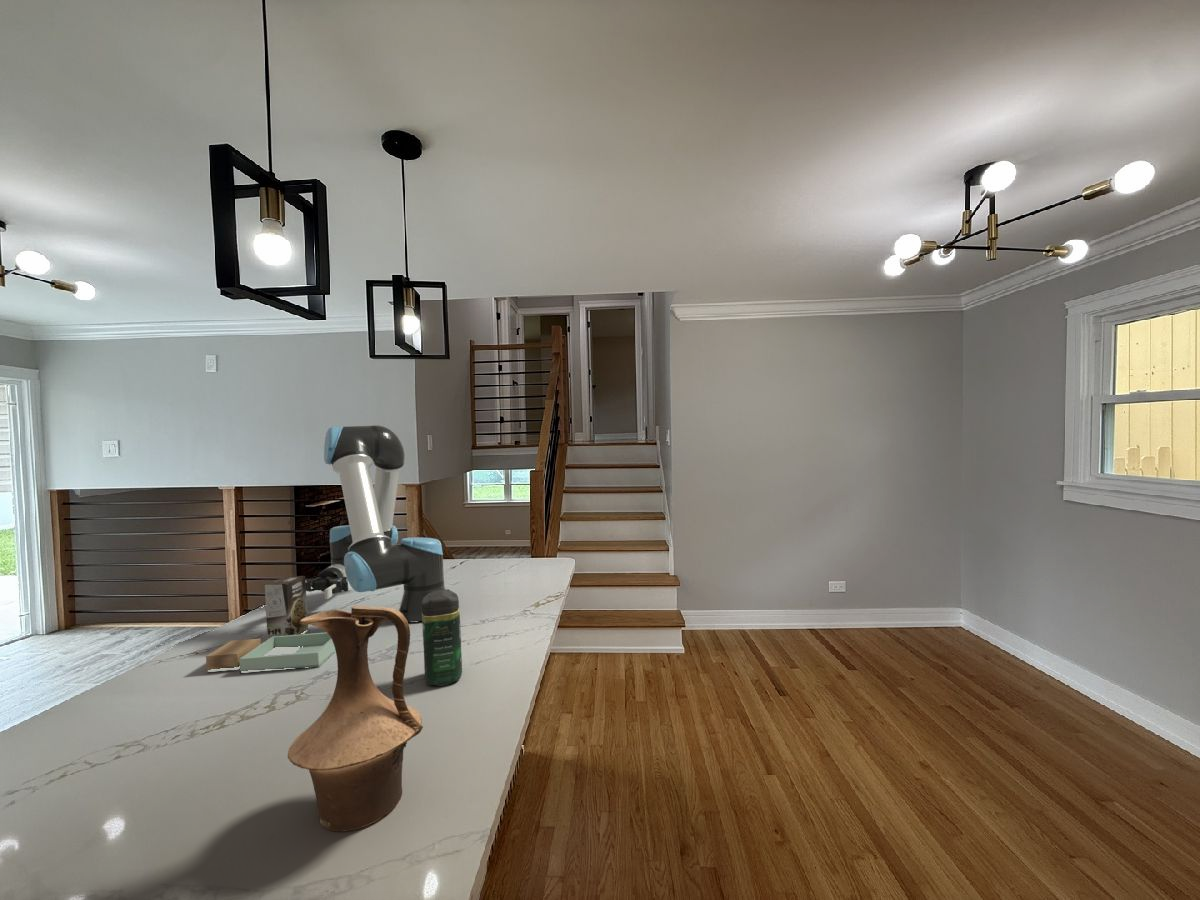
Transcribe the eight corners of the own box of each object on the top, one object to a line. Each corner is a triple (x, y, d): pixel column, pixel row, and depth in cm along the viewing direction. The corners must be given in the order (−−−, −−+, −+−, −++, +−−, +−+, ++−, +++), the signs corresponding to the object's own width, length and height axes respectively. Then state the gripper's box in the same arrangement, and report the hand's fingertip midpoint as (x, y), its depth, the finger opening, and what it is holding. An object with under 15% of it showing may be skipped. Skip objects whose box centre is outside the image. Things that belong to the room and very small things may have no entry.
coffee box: (290, 643, 143) (286, 583, 143) (266, 644, 143) (263, 584, 143) (309, 631, 152) (306, 575, 152) (287, 632, 152) (283, 576, 152)
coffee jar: (463, 683, 113) (459, 596, 113) (424, 690, 111) (419, 601, 111) (462, 665, 123) (457, 585, 122) (426, 671, 120) (421, 589, 120)
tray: (343, 644, 141) (342, 631, 140) (319, 667, 126) (318, 652, 126) (273, 650, 139) (272, 636, 139) (240, 674, 125) (239, 659, 124)
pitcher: (441, 764, 85) (431, 587, 84) (406, 845, 68) (393, 624, 67) (328, 772, 84) (317, 594, 84) (263, 856, 67) (249, 633, 67)
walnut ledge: (261, 654, 137) (260, 638, 137) (238, 670, 127) (237, 653, 127) (232, 656, 136) (231, 640, 136) (206, 673, 126) (205, 656, 126)
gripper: (371, 586, 179) (346, 605, 158) (293, 592, 177) (257, 612, 156) (370, 564, 179) (345, 580, 157) (292, 569, 177) (256, 586, 155)
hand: (301, 596), depth 156 cm, fingers open, 13 cm apart
